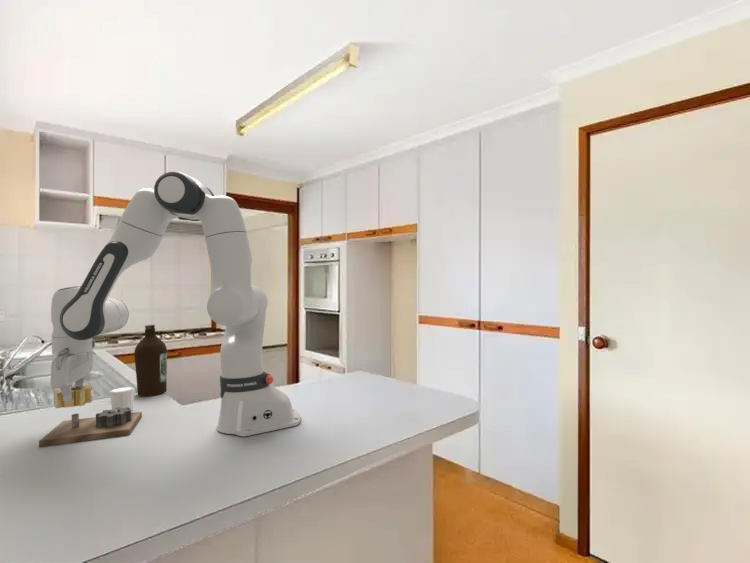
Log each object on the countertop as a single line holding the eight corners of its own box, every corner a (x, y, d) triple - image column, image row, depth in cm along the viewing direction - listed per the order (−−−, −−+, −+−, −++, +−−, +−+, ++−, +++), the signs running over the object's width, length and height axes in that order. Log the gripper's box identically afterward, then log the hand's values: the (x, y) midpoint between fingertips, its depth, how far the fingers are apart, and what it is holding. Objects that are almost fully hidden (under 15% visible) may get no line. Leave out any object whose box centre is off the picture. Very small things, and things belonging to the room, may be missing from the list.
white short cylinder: (123, 415, 129) (122, 392, 129) (104, 414, 130) (103, 391, 130) (140, 408, 135) (139, 386, 135) (122, 407, 137) (121, 386, 137)
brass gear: (95, 398, 119) (94, 384, 119) (87, 405, 112) (87, 390, 112) (60, 402, 116) (59, 387, 116) (50, 409, 110) (49, 393, 110)
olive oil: (131, 398, 147) (128, 327, 147) (141, 390, 158) (138, 324, 158) (164, 395, 150) (161, 325, 150) (171, 388, 160) (169, 323, 160)
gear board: (141, 416, 126) (141, 400, 126) (129, 434, 111) (129, 416, 111) (63, 426, 120) (62, 408, 120) (39, 446, 105) (38, 426, 105)
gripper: (72, 351, 105) (73, 406, 105) (96, 340, 125) (98, 386, 125) (41, 353, 103) (43, 409, 103) (72, 341, 123) (73, 388, 123)
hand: (73, 396), depth 114 cm, fingers closed on brass gear, 6 cm apart
